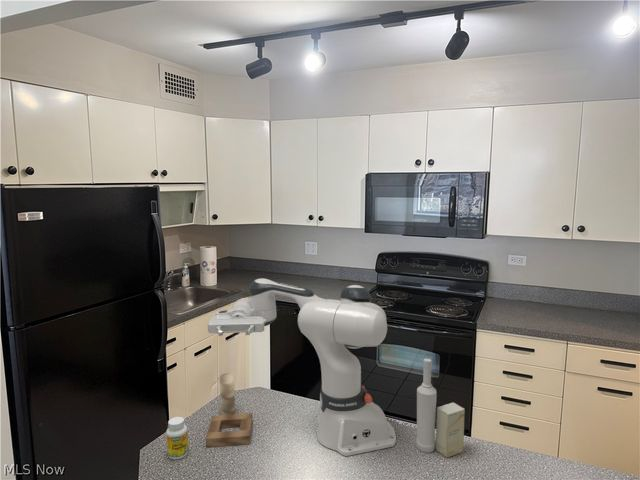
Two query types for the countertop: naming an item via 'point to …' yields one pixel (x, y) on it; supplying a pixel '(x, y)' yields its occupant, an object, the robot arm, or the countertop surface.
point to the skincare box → (450, 429)
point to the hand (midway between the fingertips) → (233, 333)
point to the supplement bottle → (177, 438)
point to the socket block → (229, 437)
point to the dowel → (227, 394)
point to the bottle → (426, 411)
